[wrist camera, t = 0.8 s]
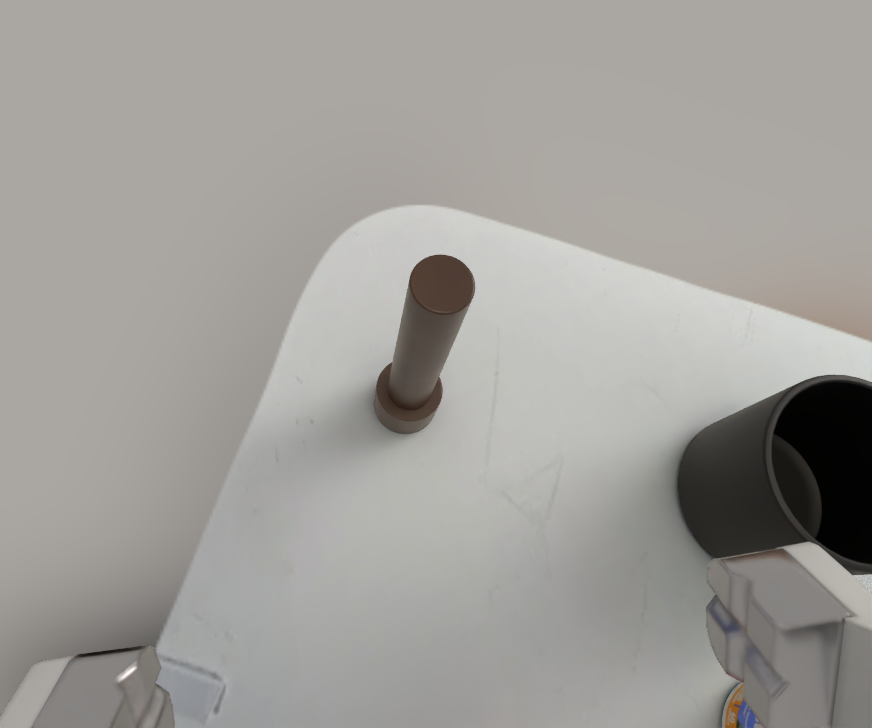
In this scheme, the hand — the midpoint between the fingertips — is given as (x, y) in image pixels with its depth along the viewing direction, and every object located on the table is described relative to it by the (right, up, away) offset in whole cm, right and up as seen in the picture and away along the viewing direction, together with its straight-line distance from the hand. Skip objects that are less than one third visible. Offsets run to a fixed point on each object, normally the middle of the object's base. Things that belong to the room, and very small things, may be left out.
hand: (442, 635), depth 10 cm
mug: (+18, -5, +30) cm, 36 cm away
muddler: (-2, +2, +29) cm, 29 cm away
